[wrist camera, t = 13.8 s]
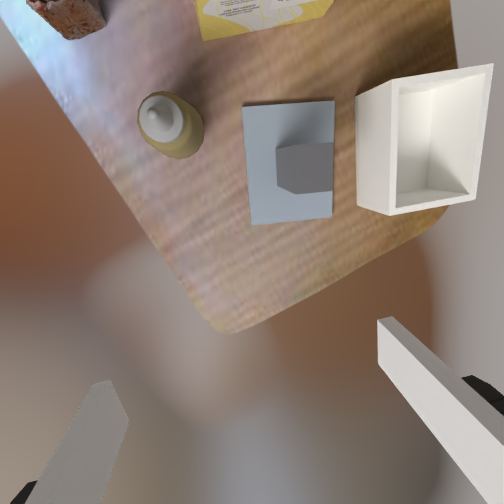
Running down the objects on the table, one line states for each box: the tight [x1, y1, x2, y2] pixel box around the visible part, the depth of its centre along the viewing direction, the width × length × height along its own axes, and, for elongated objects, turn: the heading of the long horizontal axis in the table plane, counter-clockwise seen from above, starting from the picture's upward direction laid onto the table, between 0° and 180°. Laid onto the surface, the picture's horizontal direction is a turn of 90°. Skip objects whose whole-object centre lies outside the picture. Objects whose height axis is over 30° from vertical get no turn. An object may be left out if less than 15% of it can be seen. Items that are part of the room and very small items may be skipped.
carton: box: [355, 63, 494, 216], centre depth 42 cm, size 18×14×10 cm
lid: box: [241, 101, 335, 225], centre depth 40 cm, size 19×15×13 cm
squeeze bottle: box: [137, 91, 205, 159], centre depth 33 cm, size 8×8×18 cm
